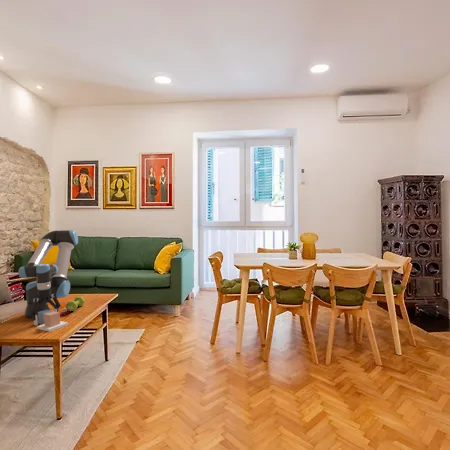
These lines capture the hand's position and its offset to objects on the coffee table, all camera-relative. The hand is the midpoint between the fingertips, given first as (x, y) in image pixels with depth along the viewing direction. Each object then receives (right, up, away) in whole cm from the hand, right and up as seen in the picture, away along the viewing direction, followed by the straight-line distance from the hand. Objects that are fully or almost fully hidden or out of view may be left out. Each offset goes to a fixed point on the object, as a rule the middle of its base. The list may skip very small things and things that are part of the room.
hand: (45, 321), depth 202 cm
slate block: (0, 0, 0) cm, 0 cm away
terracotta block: (+10, +1, -10) cm, 14 cm away
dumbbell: (+6, +1, +28) cm, 29 cm away
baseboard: (+10, 0, -10) cm, 13 cm away
